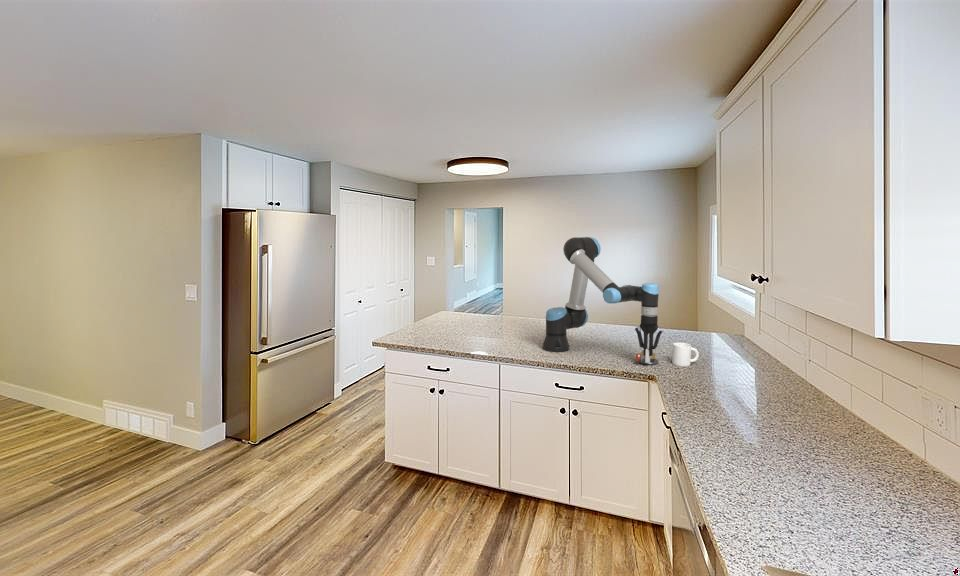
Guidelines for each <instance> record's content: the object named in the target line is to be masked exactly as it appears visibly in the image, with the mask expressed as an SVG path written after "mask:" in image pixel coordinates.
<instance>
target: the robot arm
mask: <svg viewBox="0 0 960 576" xmlns="http://www.w3.org/2000/svg"><path fill="white" fill-rule="evenodd" d="M562 250H563V255H564V256H565V259H567V261H568V262H570V263H571V264H572V265H574V269H573V277H572V280H571V281H572V282H571V285H570V292H569V299H568V302H566V303H565V307H561V306H559V307H551V308H549V309H547V311H546V313H545V314H546V315H545V337H544V339H543V340H544V341H543V343H542V350H545V351H546V352H553V353H554V352H555V353H562V352H567V351H569V350H570V343H569V341H568V337H567V330H571V329H578V328H581V327H584V326H585V325H586V324H587V322H588V319H589V314H588V310H586V305H585V298H586V295H587V294H586V291H587V288H588V282H589V281H590V282H592V283H593V285H594V286H595V287H596V288H597V289H598V290H599V291H600V292H601V293H602V297H603V301H604V302H606V303H607V304H618V303H626V302H640V303H641V307H640V309H641V310H640V311H641V312H640V314H641V315H640V324H639V326H637V327H635V328H634V331H636V335H637V339H638V344H639V347H640V348H642V350H644V355H646V356H645V362H646V363H649V362H650V356H652V351H653V352H654V350H656V349H657V348H658V345H659V341H660V338H661V335H662V334H663V333H664V330H663V329H660V328H659V325H658V320H659V317H658V314H659V293H660V291H659V284H657V283H655V282H644V283H642V284H641V285H642V286H638V285H631V284H624V285H622V286H618V285H617V284H616V283H615V282H614V281H613V280H612V279H611V278H610V277H609V276H608V275H607V274H606V273H605V272H604V271H603V270H602V269H601V268H600V267H599V266H598V265H597V264H596V263H595V259H596V258H598V256H599V255H600V254H601V251H602V250H601V244H600V242H599V240H597V238H595V237H591V236H584V237H571V238H569V239H567V240H566V241H565V243H564V245H563V249H562ZM642 333H643V335H642ZM654 333H656V337H655V339H654ZM648 340H649V341H648Z"/></svg>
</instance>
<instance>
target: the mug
mask: <svg viewBox="0 0 960 576" xmlns="http://www.w3.org/2000/svg"><path fill="white" fill-rule="evenodd" d="M692 352H694V353H695V357H694V358H692ZM671 357H672V358H671V360H672V361H671V363H672V365H673V366H676V367H681V368H688V367H690V366H691V363H694V362H696V361H698V359H699V357H700V353H699V351H698V350H697V348H695V347H692V344H690V343H686V342H673V343H672V355H671Z"/></svg>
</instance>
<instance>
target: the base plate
mask: <svg viewBox="0 0 960 576" xmlns="http://www.w3.org/2000/svg"><path fill="white" fill-rule="evenodd" d="M638 364H641V365H646V366H656V365H659V360H658V359H657V358H655V361H650V362H649V363H646V362H645V361H642V362H639V363H638Z"/></svg>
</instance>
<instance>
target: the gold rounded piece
mask: <svg viewBox="0 0 960 576" xmlns="http://www.w3.org/2000/svg"><path fill="white" fill-rule="evenodd" d="M645 356H646V355H644V349H642V350H641V352H640V353H635V362H636V363H638V364H640V363H639V362H642V361H645ZM655 359H656V353H655V352H654V350H653V351H652V356H650V361H655Z"/></svg>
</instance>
